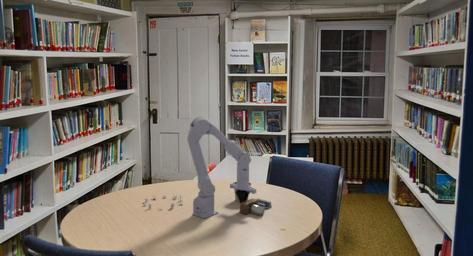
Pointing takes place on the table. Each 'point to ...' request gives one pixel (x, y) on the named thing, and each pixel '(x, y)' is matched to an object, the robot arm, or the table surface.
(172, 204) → the game piece set
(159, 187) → the table surface
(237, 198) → the flower pot
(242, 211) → the brown wooden u-shaped block
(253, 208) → the grey metal cylinder
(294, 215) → the table surface
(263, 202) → the v block
